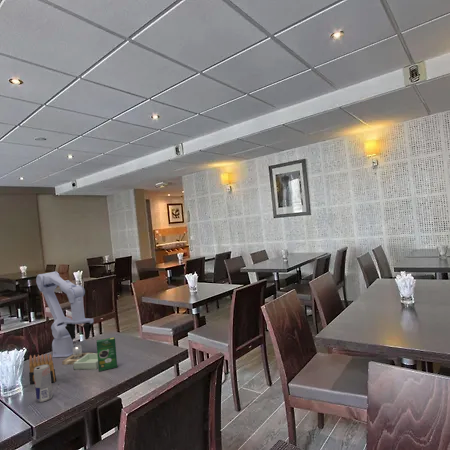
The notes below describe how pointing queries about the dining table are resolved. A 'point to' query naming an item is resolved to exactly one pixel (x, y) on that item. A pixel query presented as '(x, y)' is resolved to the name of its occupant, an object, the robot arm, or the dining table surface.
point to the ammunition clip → (39, 362)
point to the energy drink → (43, 383)
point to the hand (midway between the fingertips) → (80, 338)
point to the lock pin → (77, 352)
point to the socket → (71, 360)
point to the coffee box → (106, 354)
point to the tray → (87, 362)
